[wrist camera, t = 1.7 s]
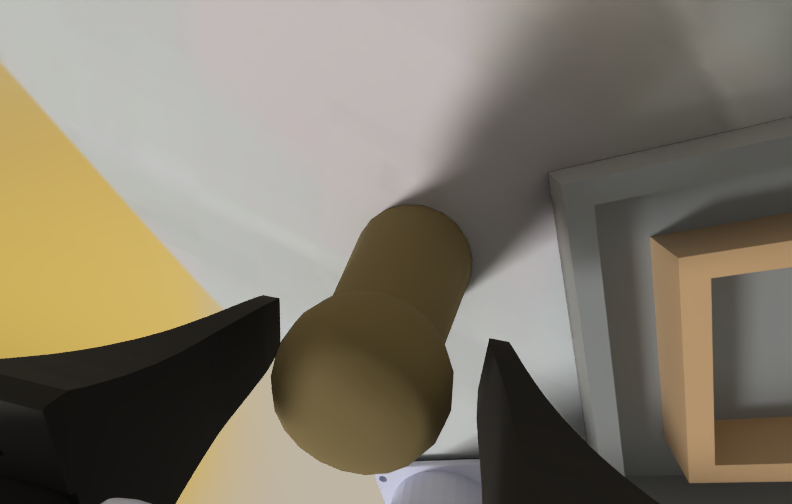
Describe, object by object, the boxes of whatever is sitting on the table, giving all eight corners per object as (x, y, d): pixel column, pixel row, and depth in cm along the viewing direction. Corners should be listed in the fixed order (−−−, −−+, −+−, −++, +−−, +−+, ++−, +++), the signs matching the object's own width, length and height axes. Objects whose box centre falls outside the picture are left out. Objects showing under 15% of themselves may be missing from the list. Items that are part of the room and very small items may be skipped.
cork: (366, 316, 21) (268, 504, 11) (345, 211, 19) (203, 324, 9) (477, 311, 20) (478, 522, 10) (466, 197, 18) (453, 313, 8)
